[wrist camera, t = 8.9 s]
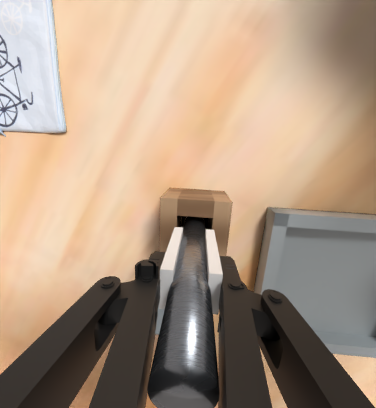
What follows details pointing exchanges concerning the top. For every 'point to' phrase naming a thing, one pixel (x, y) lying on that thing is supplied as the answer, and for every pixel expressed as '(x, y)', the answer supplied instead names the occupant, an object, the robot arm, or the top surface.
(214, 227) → the bored block
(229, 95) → the top surface
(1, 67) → the folded bicycle print cloth
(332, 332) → the tray
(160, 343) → the rod
